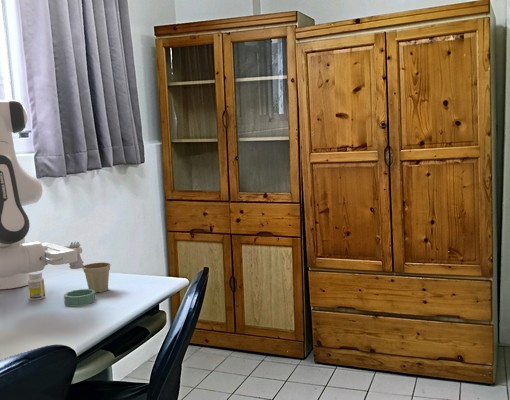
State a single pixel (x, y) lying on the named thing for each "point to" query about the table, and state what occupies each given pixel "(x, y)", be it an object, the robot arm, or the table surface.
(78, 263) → the rook chess piece
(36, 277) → the supplement bottle
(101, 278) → the flower pot
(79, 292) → the bowl
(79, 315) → the table surface
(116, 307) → the table surface
